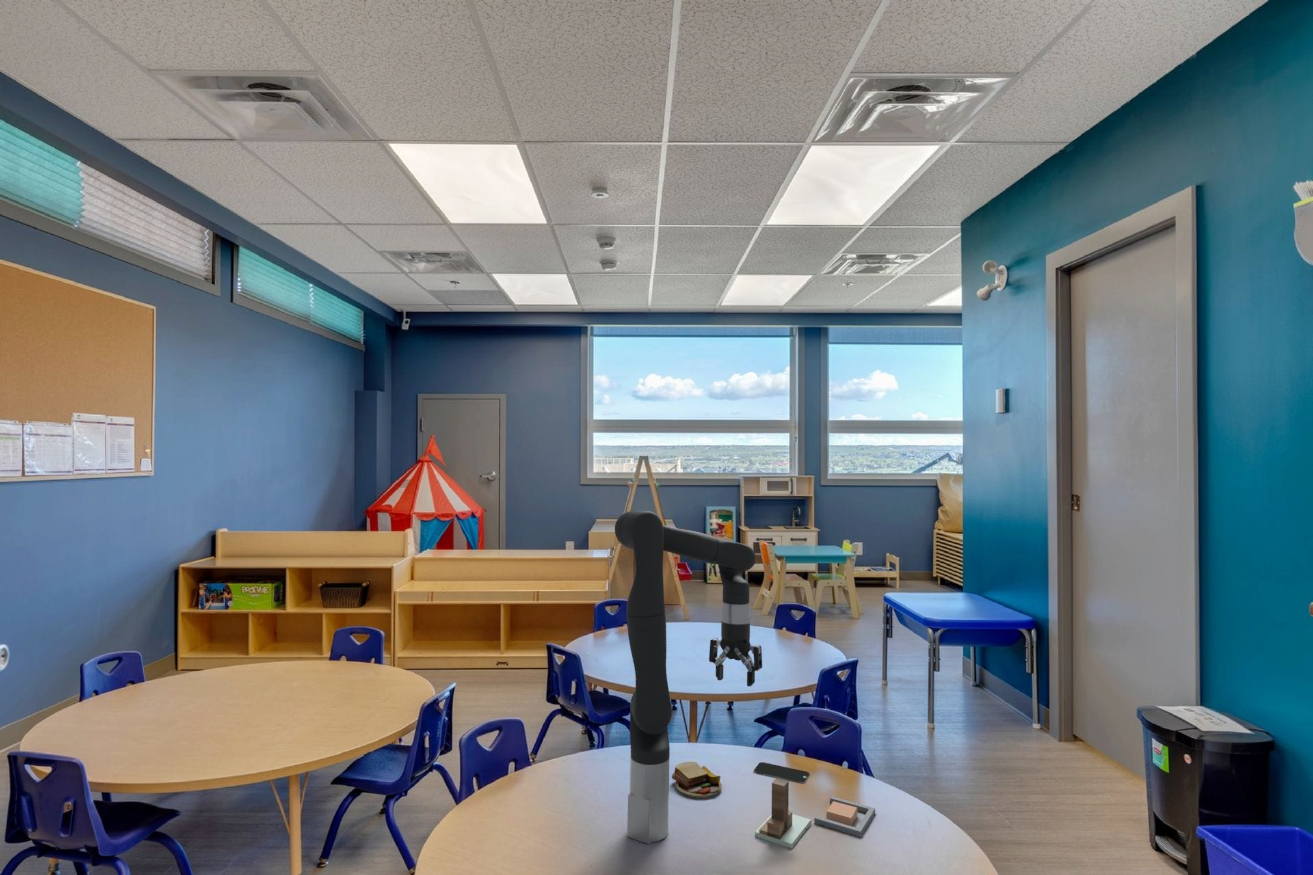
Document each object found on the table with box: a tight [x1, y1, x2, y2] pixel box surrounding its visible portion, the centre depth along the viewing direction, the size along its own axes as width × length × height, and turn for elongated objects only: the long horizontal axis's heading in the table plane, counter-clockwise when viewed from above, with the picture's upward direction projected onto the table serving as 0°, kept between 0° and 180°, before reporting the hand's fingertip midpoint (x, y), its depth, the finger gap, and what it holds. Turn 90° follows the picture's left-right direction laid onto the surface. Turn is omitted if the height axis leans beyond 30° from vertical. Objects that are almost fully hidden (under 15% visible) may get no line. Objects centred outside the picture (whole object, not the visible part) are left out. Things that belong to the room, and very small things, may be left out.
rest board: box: [754, 813, 812, 849], centre depth 159 cm, size 13×9×1 cm
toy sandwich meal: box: [671, 761, 723, 799], centre depth 180 cm, size 12×14×5 cm
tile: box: [825, 801, 858, 827], centre depth 165 cm, size 6×6×2 cm
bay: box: [813, 795, 876, 838], centre depth 165 cm, size 13×11×1 cm
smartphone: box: [753, 761, 811, 784], centre depth 190 cm, size 8×1×15 cm
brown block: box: [759, 778, 793, 840], centre depth 158 cm, size 8×5×11 cm, turn 148°
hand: (734, 682), depth 174 cm, fingers open, 8 cm apart
